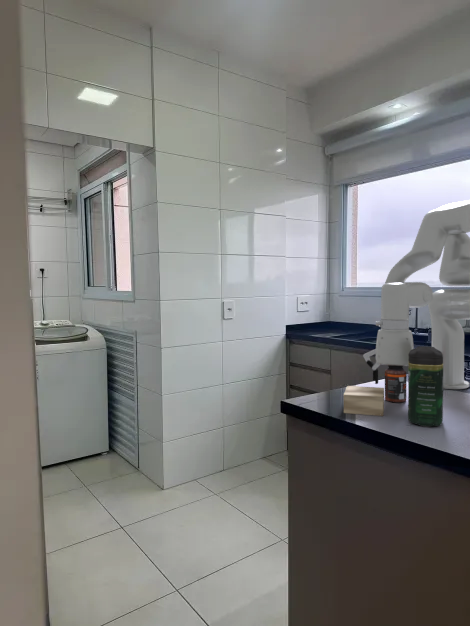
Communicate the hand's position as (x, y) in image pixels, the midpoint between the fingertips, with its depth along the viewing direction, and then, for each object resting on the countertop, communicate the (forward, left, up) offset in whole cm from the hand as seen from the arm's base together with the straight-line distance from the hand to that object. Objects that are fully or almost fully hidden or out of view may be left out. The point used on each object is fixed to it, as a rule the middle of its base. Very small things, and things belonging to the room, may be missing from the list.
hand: (394, 384), depth 122 cm
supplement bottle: (-1, 0, -5) cm, 5 cm away
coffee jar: (+17, +7, -5) cm, 19 cm away
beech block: (+10, -8, -5) cm, 14 cm away
